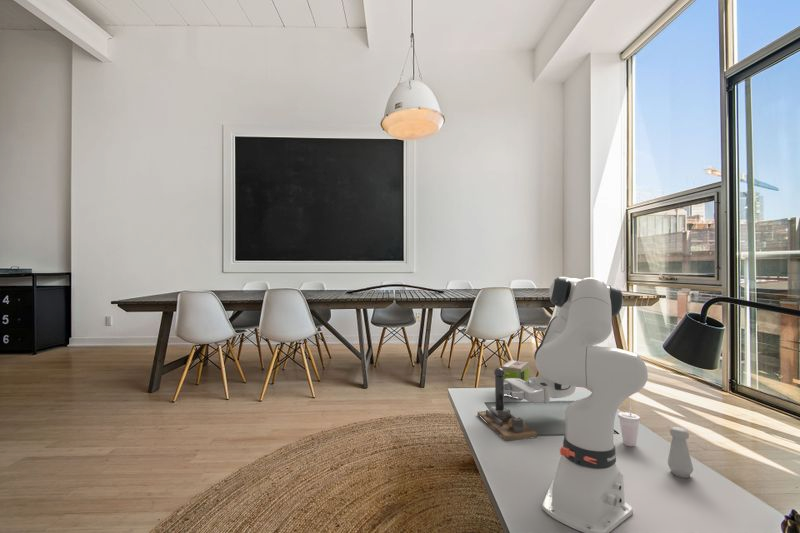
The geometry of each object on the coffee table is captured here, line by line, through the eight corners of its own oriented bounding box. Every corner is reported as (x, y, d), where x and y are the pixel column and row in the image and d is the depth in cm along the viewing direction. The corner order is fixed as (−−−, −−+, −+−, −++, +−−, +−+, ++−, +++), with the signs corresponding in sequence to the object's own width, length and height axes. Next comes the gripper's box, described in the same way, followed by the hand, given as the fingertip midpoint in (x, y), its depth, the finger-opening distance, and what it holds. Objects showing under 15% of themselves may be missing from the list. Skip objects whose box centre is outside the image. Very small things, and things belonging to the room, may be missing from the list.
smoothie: (644, 449, 116) (643, 406, 117) (623, 447, 117) (622, 405, 118) (635, 440, 122) (634, 399, 123) (615, 438, 124) (614, 398, 124)
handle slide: (490, 414, 141) (490, 366, 141) (502, 413, 142) (502, 365, 143) (498, 420, 135) (497, 370, 136) (510, 419, 136) (509, 369, 137)
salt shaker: (694, 473, 102) (693, 428, 102) (692, 482, 97) (691, 434, 98) (669, 466, 106) (667, 422, 106) (666, 474, 101) (665, 428, 102)
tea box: (510, 388, 181) (510, 359, 181) (531, 391, 175) (530, 361, 175) (500, 396, 168) (500, 365, 169) (521, 400, 163) (521, 368, 163)
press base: (477, 415, 145) (477, 401, 145) (504, 412, 148) (503, 398, 148) (506, 440, 122) (506, 423, 123) (536, 437, 125) (536, 420, 125)
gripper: (521, 373, 153) (492, 375, 150) (551, 387, 133) (518, 390, 130) (521, 388, 153) (492, 390, 150) (551, 404, 133) (519, 407, 130)
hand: (505, 390), depth 140 cm, fingers open, 8 cm apart
